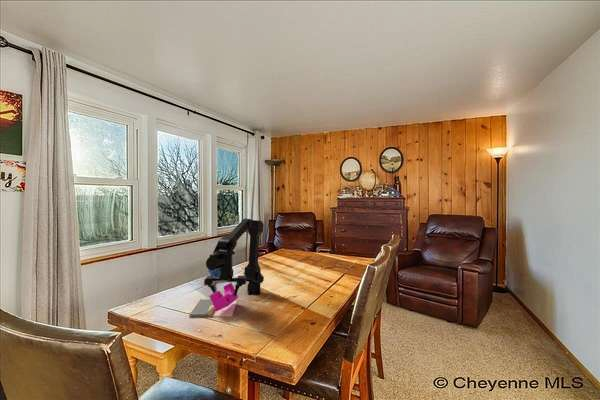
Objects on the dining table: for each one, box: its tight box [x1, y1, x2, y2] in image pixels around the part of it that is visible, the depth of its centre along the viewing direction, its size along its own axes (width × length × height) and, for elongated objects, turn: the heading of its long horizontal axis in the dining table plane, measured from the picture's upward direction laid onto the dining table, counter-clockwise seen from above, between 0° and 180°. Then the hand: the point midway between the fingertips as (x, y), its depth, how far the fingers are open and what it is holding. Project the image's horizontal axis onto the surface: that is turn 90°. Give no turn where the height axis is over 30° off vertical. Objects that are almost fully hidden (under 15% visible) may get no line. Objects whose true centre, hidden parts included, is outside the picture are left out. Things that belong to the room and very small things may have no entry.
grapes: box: [207, 268, 220, 278], centre depth 177 cm, size 12×7×12 cm, turn 145°
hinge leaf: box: [188, 298, 215, 318], centre depth 132 cm, size 9×18×2 cm, turn 5°
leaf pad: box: [211, 300, 238, 318], centre depth 132 cm, size 8×17×1 cm, turn 5°
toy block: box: [209, 282, 239, 311], centre depth 131 cm, size 15×6×8 cm, turn 168°
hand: (225, 298), depth 132 cm, fingers closed on toy block, 8 cm apart
